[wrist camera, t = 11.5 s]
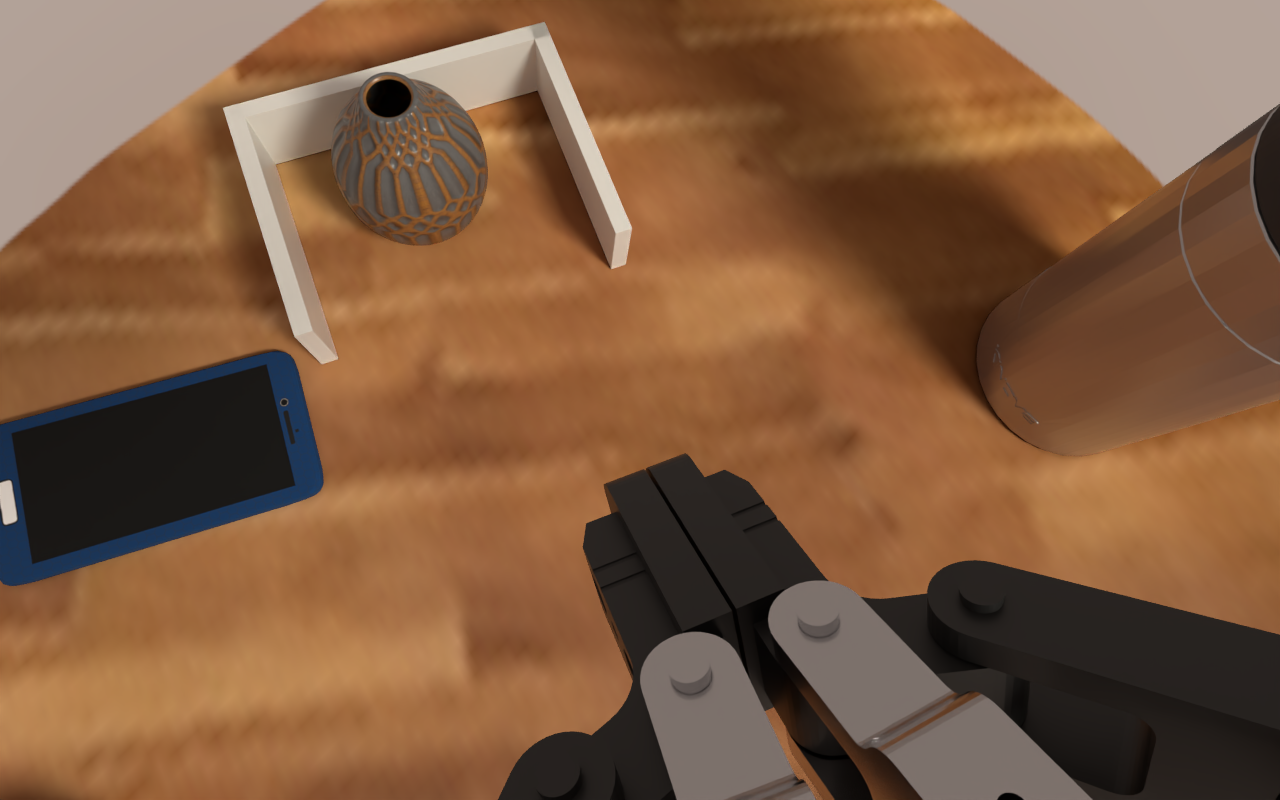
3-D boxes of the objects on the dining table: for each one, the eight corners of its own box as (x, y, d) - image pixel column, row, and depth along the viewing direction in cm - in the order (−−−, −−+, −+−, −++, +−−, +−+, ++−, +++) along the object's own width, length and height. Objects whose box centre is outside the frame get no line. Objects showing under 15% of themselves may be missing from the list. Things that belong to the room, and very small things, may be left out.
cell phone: (-16, 434, 36) (-28, 430, 36) (294, 349, 39) (289, 344, 38) (7, 592, 35) (-4, 591, 34) (330, 494, 37) (326, 491, 36)
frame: (546, 74, 43) (544, 21, 39) (625, 264, 41) (632, 228, 37) (255, 155, 40) (222, 107, 37) (321, 364, 38) (294, 336, 34)
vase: (467, 126, 42) (442, 5, 34) (512, 239, 41) (498, 142, 32) (337, 166, 41) (277, 49, 32) (380, 283, 39) (329, 194, 31)
